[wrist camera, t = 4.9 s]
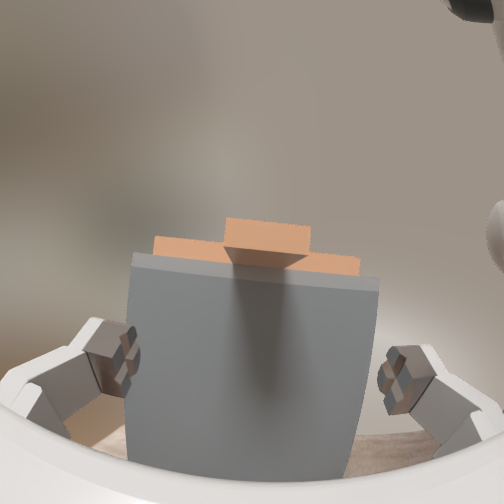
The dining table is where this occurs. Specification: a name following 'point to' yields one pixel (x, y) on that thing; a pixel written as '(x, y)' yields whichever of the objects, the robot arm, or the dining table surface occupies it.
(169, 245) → the lid
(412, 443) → the dining table surface
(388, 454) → the dining table surface
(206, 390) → the crate
